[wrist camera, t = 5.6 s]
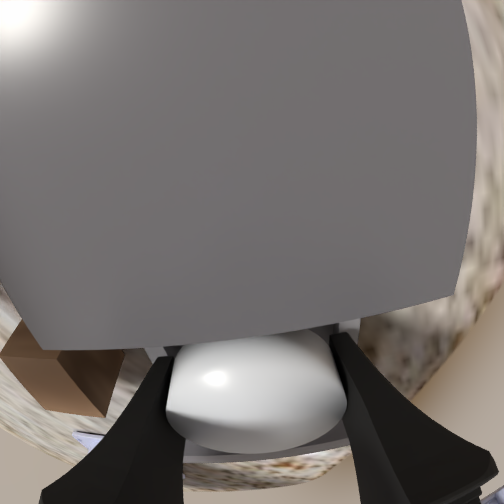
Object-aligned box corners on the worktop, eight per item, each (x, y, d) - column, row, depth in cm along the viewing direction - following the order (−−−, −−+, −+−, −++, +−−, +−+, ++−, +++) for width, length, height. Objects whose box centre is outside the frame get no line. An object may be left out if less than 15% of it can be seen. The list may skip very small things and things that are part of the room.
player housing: (372, 208, 11) (453, 294, 6) (105, 251, 11) (42, 349, 6) (340, -46, 6) (411, -118, 1) (49, 17, 6) (-53, -1, 1)
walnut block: (124, 355, 14) (105, 417, 11) (68, 355, 14) (45, 409, 11) (91, 295, 12) (56, 359, 9) (34, 301, 12) (-2, 355, 9)
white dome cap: (331, 404, 11) (340, 440, 9) (199, 420, 11) (196, 456, 10) (336, 304, 8) (354, 350, 7) (148, 331, 9) (135, 376, 7)
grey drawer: (359, 371, 15) (382, 439, 11) (175, 395, 16) (166, 465, 12) (374, 176, 10) (448, 233, 6) (92, 224, 10) (30, 297, 6)
